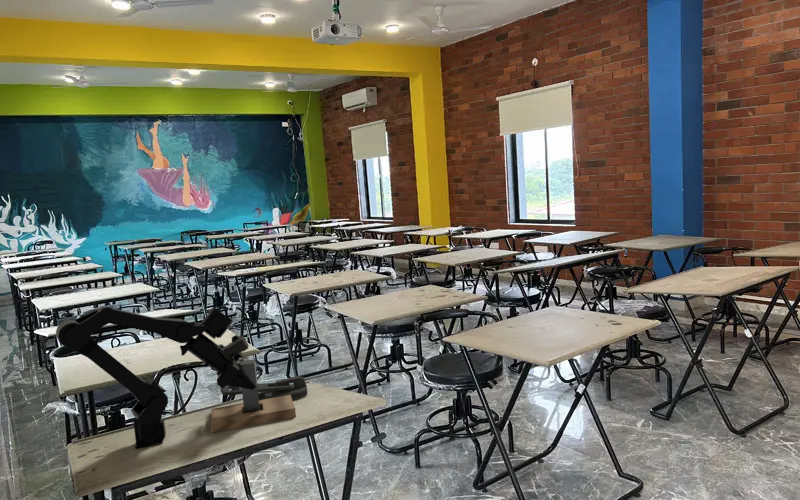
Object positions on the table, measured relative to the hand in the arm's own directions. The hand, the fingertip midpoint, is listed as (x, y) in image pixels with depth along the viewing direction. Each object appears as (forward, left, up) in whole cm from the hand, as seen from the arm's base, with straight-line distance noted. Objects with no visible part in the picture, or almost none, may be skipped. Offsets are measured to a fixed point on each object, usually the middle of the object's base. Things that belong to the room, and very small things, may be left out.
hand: (254, 385), depth 156 cm
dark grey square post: (-1, 0, -7) cm, 7 cm away
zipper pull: (+3, +12, -9) cm, 15 cm away
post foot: (-1, 0, -9) cm, 9 cm away
